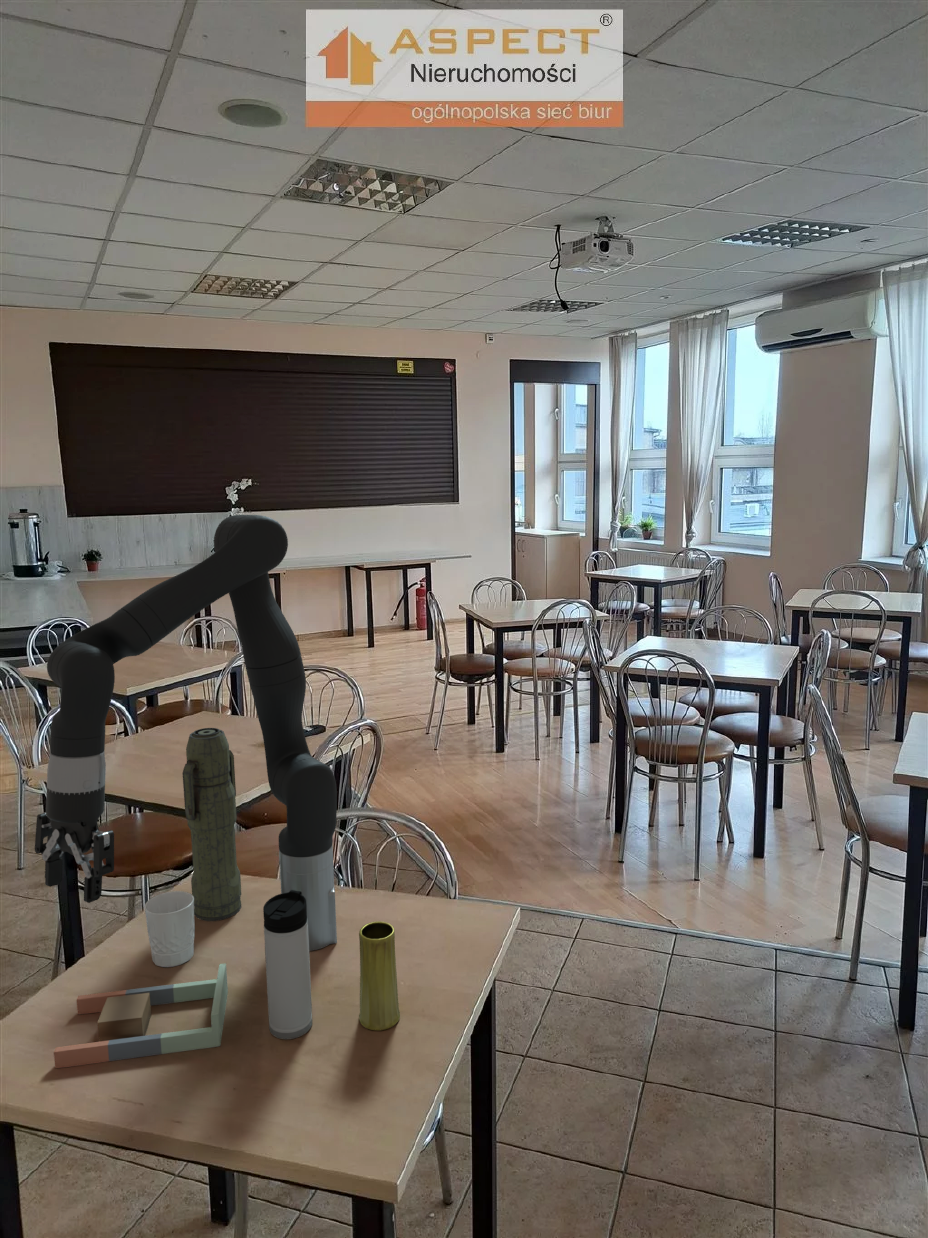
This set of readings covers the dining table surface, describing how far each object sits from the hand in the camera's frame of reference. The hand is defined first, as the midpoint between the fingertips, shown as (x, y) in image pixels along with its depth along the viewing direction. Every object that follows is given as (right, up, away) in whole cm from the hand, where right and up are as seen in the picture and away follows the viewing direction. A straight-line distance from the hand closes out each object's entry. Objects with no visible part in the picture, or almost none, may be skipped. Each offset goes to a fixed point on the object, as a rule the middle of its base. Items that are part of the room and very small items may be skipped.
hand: (72, 892), depth 118 cm
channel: (+9, -21, +4) cm, 24 cm away
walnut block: (+6, -22, +3) cm, 23 cm away
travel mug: (+31, -21, +4) cm, 38 cm away
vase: (+44, -21, +6) cm, 49 cm away
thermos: (+10, -16, +38) cm, 43 cm away
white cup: (+7, -19, +23) cm, 30 cm away
